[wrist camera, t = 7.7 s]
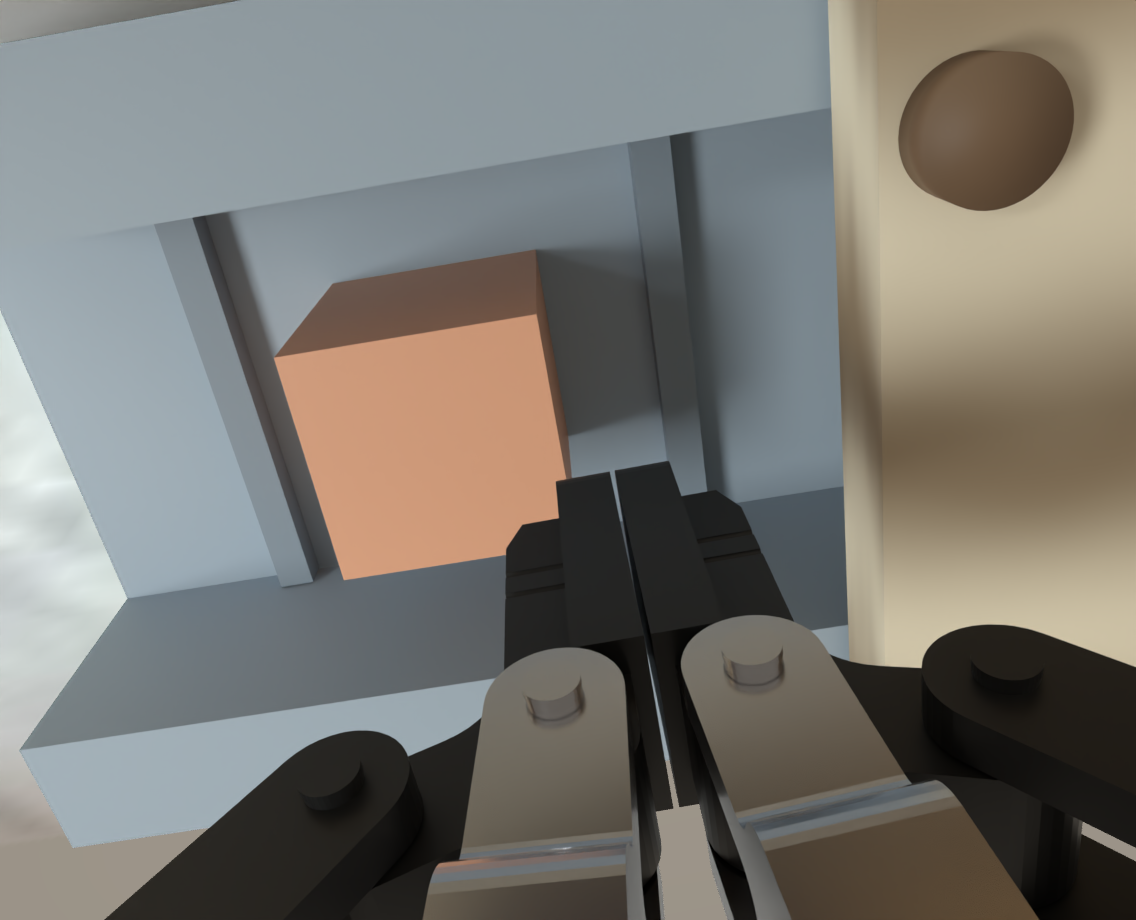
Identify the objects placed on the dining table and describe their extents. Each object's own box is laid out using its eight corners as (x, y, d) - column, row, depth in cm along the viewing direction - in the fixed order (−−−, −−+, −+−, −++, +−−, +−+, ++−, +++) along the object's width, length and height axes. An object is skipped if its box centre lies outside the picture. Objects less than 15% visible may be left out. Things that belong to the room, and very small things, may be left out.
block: (332, 283, 20) (274, 358, 15) (535, 249, 20) (536, 314, 15) (383, 466, 22) (344, 580, 17) (568, 436, 22) (578, 543, 17)
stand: (-69, 81, 19) (-401, 110, 12) (1255, -156, 18) (1689, -268, 11) (178, 660, 25) (50, 887, 18) (1163, 508, 24) (1404, 690, 18)
